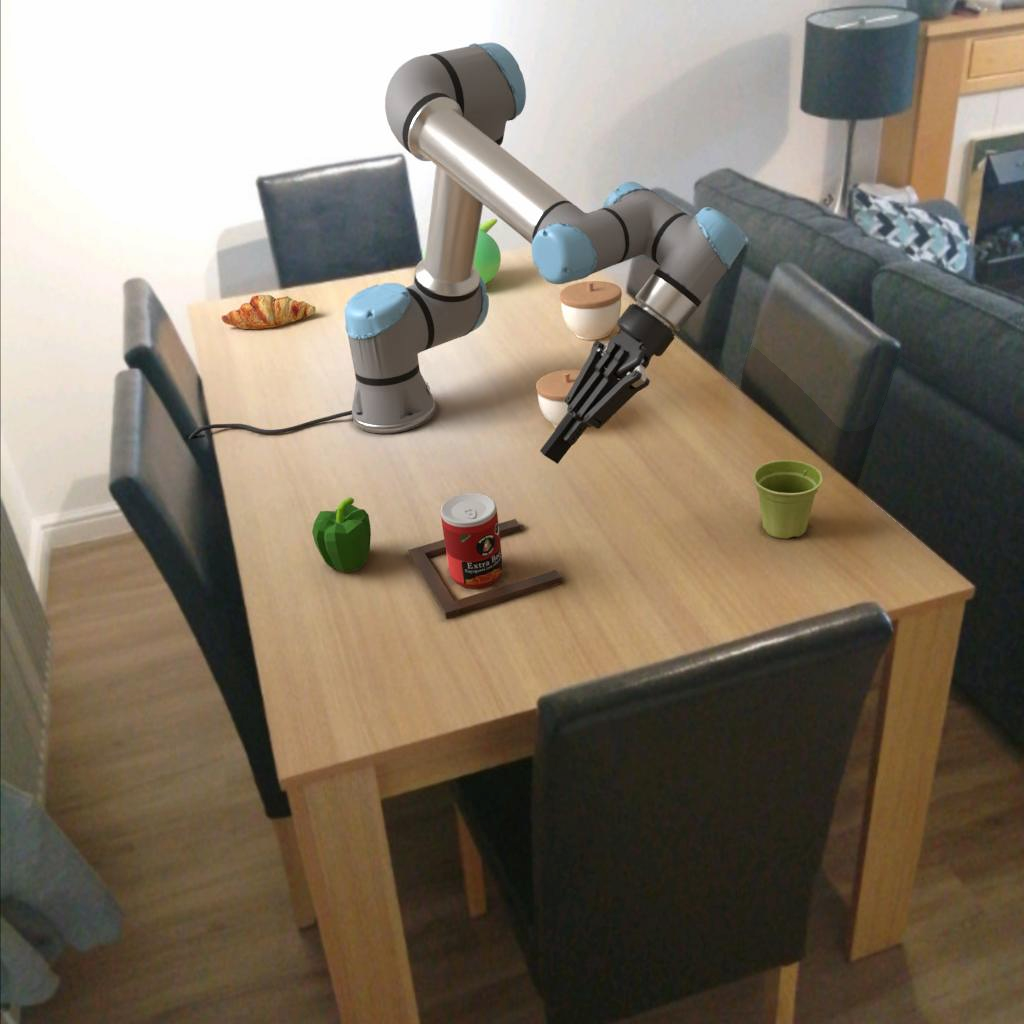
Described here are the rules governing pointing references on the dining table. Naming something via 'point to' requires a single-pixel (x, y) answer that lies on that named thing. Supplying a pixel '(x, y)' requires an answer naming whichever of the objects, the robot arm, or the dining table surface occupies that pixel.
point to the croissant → (268, 312)
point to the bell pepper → (343, 536)
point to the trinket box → (555, 394)
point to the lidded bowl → (591, 308)
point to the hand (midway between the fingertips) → (548, 457)
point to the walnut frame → (480, 599)
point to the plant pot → (786, 496)
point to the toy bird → (486, 253)
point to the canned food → (472, 539)
